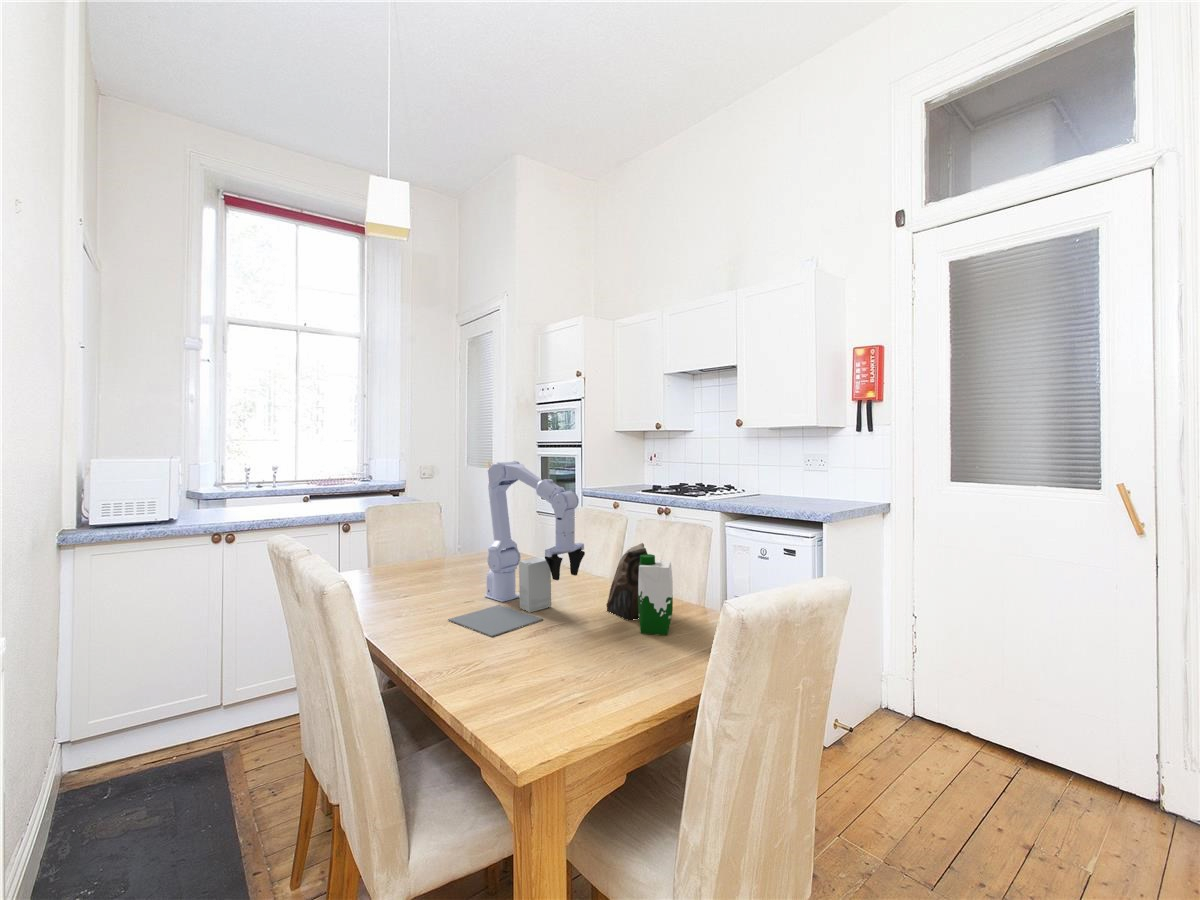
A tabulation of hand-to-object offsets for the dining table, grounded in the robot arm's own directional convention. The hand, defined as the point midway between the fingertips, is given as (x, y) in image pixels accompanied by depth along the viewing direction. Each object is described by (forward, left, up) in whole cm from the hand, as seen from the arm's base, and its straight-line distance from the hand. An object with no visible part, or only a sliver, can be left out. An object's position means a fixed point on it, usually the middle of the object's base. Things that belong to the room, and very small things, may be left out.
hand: (565, 577), depth 165 cm
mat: (-9, -19, -10) cm, 23 cm away
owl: (+15, +11, -10) cm, 21 cm away
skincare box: (-9, -4, -10) cm, 14 cm away
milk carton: (+30, +4, -10) cm, 32 cm away
